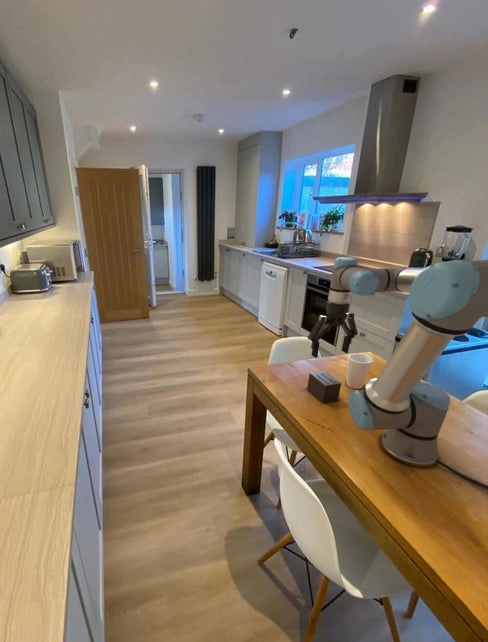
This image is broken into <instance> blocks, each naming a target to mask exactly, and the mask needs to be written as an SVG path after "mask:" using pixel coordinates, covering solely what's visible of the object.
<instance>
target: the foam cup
mask: <svg viewBox="0 0 488 642" xmlns="http://www.w3.org/2000/svg"><path fill="white" fill-rule="evenodd" d="M346 362H347V364H346V386H348V387H349V388H351V389H357V390H358V389H362V388H364V384H365V382H366V379H367V377H368V374H369V372H370V370H371V367H373V362H374V359H373V357H371V356H370V355H366V354H364V353H350V354H348V356H347V360H346Z"/></svg>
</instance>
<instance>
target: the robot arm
mask: <svg viewBox="0 0 488 642" xmlns="http://www.w3.org/2000/svg"><path fill="white" fill-rule="evenodd" d="M384 292H385V293H386V292H387V293H388V292H389V293H390V292H391V293H392V292H397V293H406V294H407V293H408V294H410V296H409V297H408V304H409V308H410V315H411V317H412V319H413V320H412V321H411V323H410V325H409V326H408V328H407V330H406V331H405V333H404V335H403V336H402V337H401V339H400V340H399V342H398V344H397V346H395V349H394V350H393V352H392V354H391V355H390V357H389V358H388V360H387V361H386V363H385V365H384V366H383V368H382V369H381V371H380V373H379V375H378V376H377V377H375V378H372V379H370V380H369V381H368V382H366V384H365V386H363V389H361V390H358V389H357V390H354V391H351V392H350V393H349V396H348V402H347V403H348V411H349V414H350V417H351V419H352V421H353V424H355V426H357V428H358V429H361V430H363V431H380V430H382V431H383V430H385V432H384V433H383V434H382V436H381V439H380V446H381V448H382V449H383V451H384V452H385V453H386V454H387V455H388V456H390V457H391V458H393V459H394V460H396V461H398V462H400V463H403V464H404V465H408V466H411V467H417V468H428V467H432V466H434V465H435V464H436V463H437V464H439V465H440V466H441V467H443V468H445V469H446V470H448V471H450V472H451V473H453V474H455V475H456V476H458V477H459V478H462V479H463V480H466V481H468V482H470V483H472V484H474V485H477V486H479V487H482V488H484V489H486V490H488V485H487V484H484V483H483V482H480V481H478V480H475V479H473V478H471V477H469V476H467V475H465V474H463V473H461V472H459V471H457V470H456V469H454V468H452V467H451V466H449V465H448V464H446V463H444V462H443V461H442V460H439V455H440V454H439V449H438V448H439V447H438V436H439V433H440V431H441V428H442V426H443V424H444V422H445V419H446V417H447V413H448V411H449V410H450V409H449V408H450V403H451V397H450V395H449V394H448V393H447V392H446V391H444V390H443V389H441V388H440V387H438V386H435V385H433V384H431V383H428V382H425V381H422V379H423V378H424V377H425V376H426V374H427V373H428V372H429V370H430V369H431V368H432V367H433V366H434V364H435V363H436V361H437V360H438V359H439V357H441V355H442V354H443V352H444V351H446V348H447V347H448V346H449V344H450V343H451V342H452V341H453V339H454V338H455V337H461V336H464V335H466V334H468V333H469V332H470V331H471V330H472V329H473V327H474V326H475V325H476V324H477V323H478V321H480V319H482V318H488V259H476V260H473V259H472V260H467V259H453V260H448V261H440V262H436V263H433V264H430V265H429V266H426V267H409V266H404V267H385V268H384V267H382V268H381V267H379V268H378V267H377V268H361V267H359V261H358V258H356V257H351V256H350V257H349V256H341V257H337V258H335V259H334V261H333V267H332V271H331V279H330V285H329V291H328V297H327V300H328V301H327V304H326V309H325V310H326V315H321V314H319V315H318V316H317V320H316V322H315V324H314V326H313V327H312V329H311V331H310V332H309V334H308V335H307V340H309V341H311V345H310V348H311V356H312V357H313V358H315V359H317V358H318V356H319V349H320V339H321V338H322V337H323V336H325V334H326V333H327V332H328V330H330V329H331V328H335V327H341V329H342V330H343V332H344V333H345V335H344V337H343V342H342V347H341V352H342V353H345V354H349V349H350V345H351V344H352V340H353V339H354V338H355V337H356V336H358V333H359V332H358V329H357V325H356V321H355V313H353V312H351V311H350V307H351V303H350V302H351V301H352V295H353V294H355V295H358V296H362V297H367V296H370V295H371V294H373V293H384ZM346 321H347V322H346Z"/></svg>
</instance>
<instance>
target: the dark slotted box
mask: <svg viewBox="0 0 488 642" xmlns="http://www.w3.org/2000/svg"><path fill="white" fill-rule="evenodd" d="M341 386H342V382H340V381H339V380H338V379H336V378H335V377H334V376H332V375H331V374H329V372H327V371H325V370H320V371H314V372H313V371H312V372H309V374H308V381H307V388H306V390H307V391H309V393H311V394H312V395H313V396H314V397H315V398H317V400H319V401H320V402H321V403H322V404H324V403H330V402H335V401H338V400H339V398H340V397H339V396H340V391H341Z"/></svg>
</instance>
